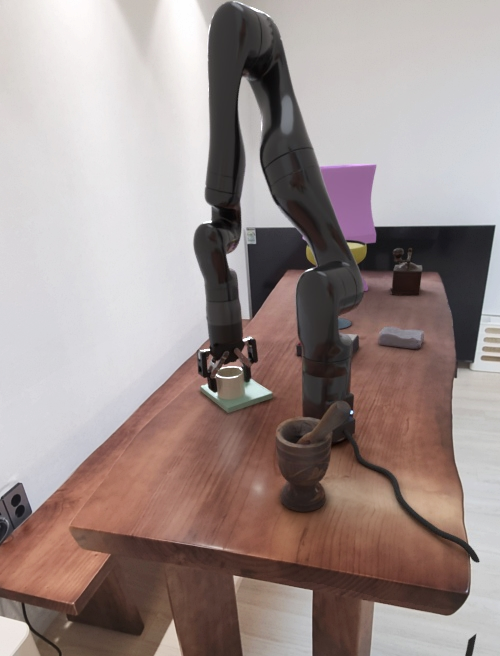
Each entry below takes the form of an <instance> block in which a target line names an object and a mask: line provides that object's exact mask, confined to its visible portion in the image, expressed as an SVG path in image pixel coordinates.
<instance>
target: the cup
mask: <svg viewBox="0 0 500 656" xmlns="http://www.w3.org/2000/svg"><path fill="white" fill-rule="evenodd" d="M239 367H240V366H224V367H221V369H220V370H218V372H217V374H216V376H215V377H216V381H217V390H218V391H217V394H218V397H219V398H221V399H225V400H234V399H238V398H241V397H242V396H243V395H244V394H245V384H244V372H243V369H241V368H239Z"/></svg>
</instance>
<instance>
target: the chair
mask: <svg viewBox="0 0 500 656" xmlns="http://www.w3.org/2000/svg"><path fill="white" fill-rule="evenodd" d="M319 166H320V165H319ZM320 169H321V173H322V176H323V180H324V183H325V186H326V189H327V192H328V195H329V197H330V200H331V203H332V206H333V208H334V211H335V214H336V217H337V220H338V223H339V225H340V228H341V230H342V232H343V235H344V237H345V239H346V240H355V241H361V242H364V243H366V244H375V243H376V244H377V242H376V241H377V231H376V228H375V223H374V217H373V211H372V192H373V186H374V180H375V174H376V170H377V164H375V163H353V164H337V165H322V166H320ZM302 240H304V241H306V240H305V238H304V237H303V236H302ZM315 267H317V266H316V265H315ZM361 276H362V279H363V285H364V292H367V291H369V285H368V284H367V282H366V280H365V278H364V277H363V275H362V274H361Z"/></svg>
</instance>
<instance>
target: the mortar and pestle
mask: <svg viewBox="0 0 500 656" xmlns="http://www.w3.org/2000/svg"><path fill="white" fill-rule="evenodd" d="M350 413H351V407H350V406H349V404H348V403H347V402H345V401H337V402H335V403H334V404H332V405H331V406H330V408H329V409H328V410H327V412H326V413H325V414H324V416H323V417H322V419H321V420H319V419H315V418H310V417H303V416H293V417H290V418H288V419H285V420H284V421H282V422H281V423H279V424H278V425H277V427H276V429H275V455H276V462H277V466H278V469H279V472H280V474H281V475H282V478H283V479H284V480H285V481H286V482H285V484H284V485H283V487H282V489H281V492H280V500H281V501H280V502H281V503H282V504H283V506H284V507H285V508H287V509H289V510H292V511H295V512H299V513H306V512H312V511H316V510H318V509H320V508H321V507H323V505H325V503H326V499H327V498H326V491H325V489H324V486H323V485H322V483H320V482H321V481H322V480H323V479H324V478H325V476H326V473H327V471H328V468H329V465H330V461H331V454H332V446H331V442H332V431H333V430H334V429H335V428H337V427H338V426H339V425H341V424H342V423H343V422H344V421H345V420H347V418H348V417H349V415H350Z"/></svg>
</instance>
